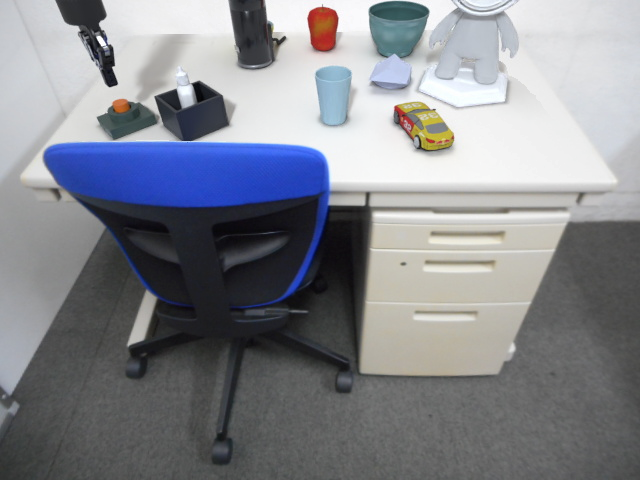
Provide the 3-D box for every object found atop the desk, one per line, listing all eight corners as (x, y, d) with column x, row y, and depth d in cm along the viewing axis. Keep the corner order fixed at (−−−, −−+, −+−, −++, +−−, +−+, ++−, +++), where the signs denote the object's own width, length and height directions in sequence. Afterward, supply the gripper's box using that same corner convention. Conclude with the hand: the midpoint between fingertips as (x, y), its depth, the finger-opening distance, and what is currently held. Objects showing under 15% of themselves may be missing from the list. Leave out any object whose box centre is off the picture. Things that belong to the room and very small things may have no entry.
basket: (206, 109, 97) (199, 80, 92) (229, 125, 91) (222, 95, 86) (163, 125, 92) (153, 96, 87) (184, 143, 86) (175, 113, 81)
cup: (342, 131, 88) (342, 84, 81) (310, 123, 91) (308, 77, 83) (356, 115, 93) (357, 69, 86) (325, 108, 96) (324, 63, 88)
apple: (305, 53, 118) (303, 8, 110) (312, 42, 124) (311, -2, 115) (335, 55, 117) (335, 9, 108) (340, 44, 122) (341, -1, 114)
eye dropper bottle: (179, 127, 89) (162, 72, 81) (189, 114, 93) (175, 60, 85) (198, 128, 89) (183, 73, 80) (208, 115, 93) (194, 61, 84)
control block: (142, 110, 97) (136, 94, 94) (157, 123, 93) (151, 106, 90) (100, 125, 93) (92, 109, 90) (113, 139, 88) (106, 123, 85)
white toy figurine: (413, 101, 97) (440, -88, 72) (430, 62, 112) (457, -105, 87) (503, 114, 92) (566, -85, 66) (507, 71, 106) (561, -104, 81)
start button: (126, 104, 92) (124, 97, 90) (132, 109, 90) (129, 102, 89) (112, 109, 90) (109, 101, 89) (118, 114, 88) (115, 107, 87)
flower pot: (434, 56, 114) (442, 14, 106) (383, 67, 110) (387, 24, 102) (404, 37, 125) (409, -3, 117) (356, 46, 121) (358, 5, 113)
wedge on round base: (404, 98, 98) (412, 74, 107) (408, 69, 93) (415, 48, 102) (367, 93, 100) (377, 71, 109) (369, 66, 95) (379, 44, 104)
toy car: (419, 110, 94) (423, 89, 90) (458, 151, 82) (463, 128, 78) (388, 116, 92) (390, 95, 89) (422, 158, 81) (426, 135, 77)
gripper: (110, -6, 72) (142, 90, 84) (84, -20, 79) (117, 70, 91) (65, 4, 68) (106, 102, 81) (42, -12, 76) (83, 80, 88)
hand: (112, 85), depth 86 cm, fingers closed
